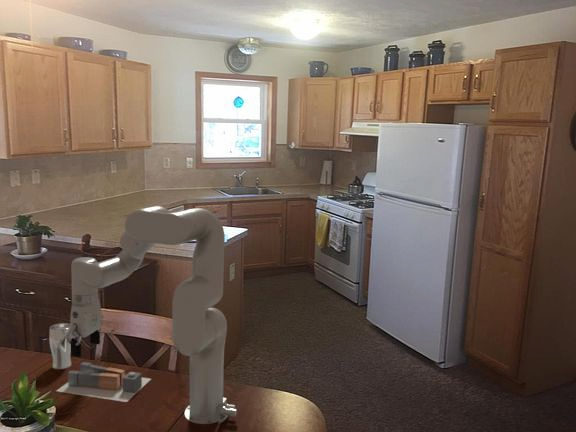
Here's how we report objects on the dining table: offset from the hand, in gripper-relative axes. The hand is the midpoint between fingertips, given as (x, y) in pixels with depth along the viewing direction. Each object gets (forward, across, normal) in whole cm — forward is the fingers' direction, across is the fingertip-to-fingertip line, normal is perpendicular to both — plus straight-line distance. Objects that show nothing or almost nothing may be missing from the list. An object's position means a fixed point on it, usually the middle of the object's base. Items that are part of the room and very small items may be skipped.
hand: (85, 349), depth 155 cm
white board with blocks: (+12, 0, -7) cm, 14 cm away
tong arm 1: (+10, -2, -4) cm, 12 cm away
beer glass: (+13, +8, +15) cm, 21 cm away
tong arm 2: (+10, +2, -4) cm, 12 cm away
